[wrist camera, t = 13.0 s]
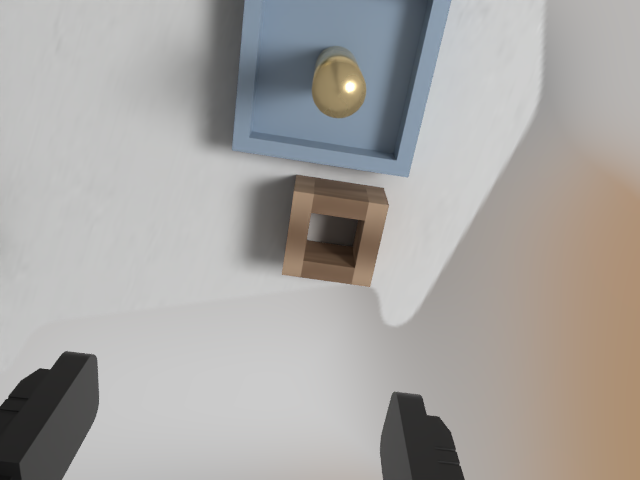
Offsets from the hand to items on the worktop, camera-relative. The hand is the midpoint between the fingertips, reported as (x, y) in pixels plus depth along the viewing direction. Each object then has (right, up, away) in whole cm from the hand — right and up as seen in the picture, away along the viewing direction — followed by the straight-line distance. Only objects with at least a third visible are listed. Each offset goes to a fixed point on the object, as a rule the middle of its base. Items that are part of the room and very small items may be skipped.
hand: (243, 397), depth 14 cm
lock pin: (+3, +17, +25) cm, 31 cm away
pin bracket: (+3, +6, +32) cm, 33 cm away
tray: (+3, +18, +26) cm, 32 cm away
